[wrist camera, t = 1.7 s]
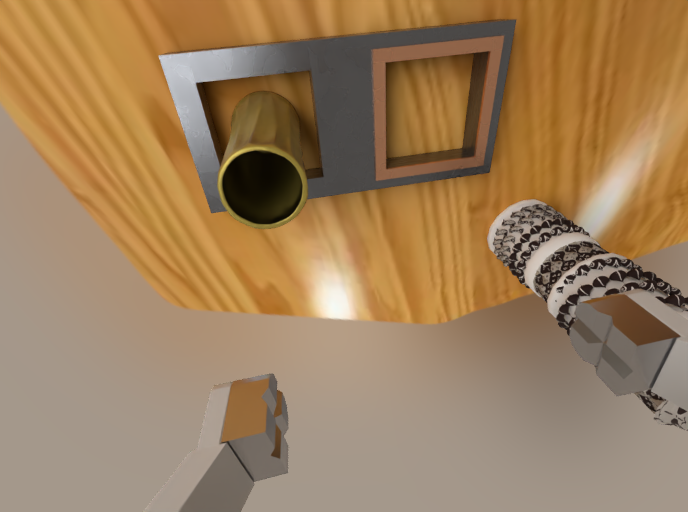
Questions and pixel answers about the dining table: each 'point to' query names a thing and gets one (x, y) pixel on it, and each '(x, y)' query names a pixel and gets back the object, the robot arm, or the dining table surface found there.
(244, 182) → the vase
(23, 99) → the dining table surface
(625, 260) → the decorative candle
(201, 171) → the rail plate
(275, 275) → the dining table surface
